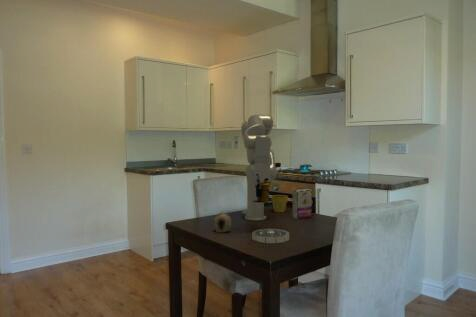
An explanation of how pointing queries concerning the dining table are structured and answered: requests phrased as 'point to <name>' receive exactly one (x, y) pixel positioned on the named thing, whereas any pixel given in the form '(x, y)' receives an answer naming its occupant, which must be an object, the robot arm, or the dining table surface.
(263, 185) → the condiment
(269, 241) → the faceted plate
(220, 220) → the garlic bulb
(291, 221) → the dining table surface
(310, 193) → the candy bar box
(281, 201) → the plant pot
